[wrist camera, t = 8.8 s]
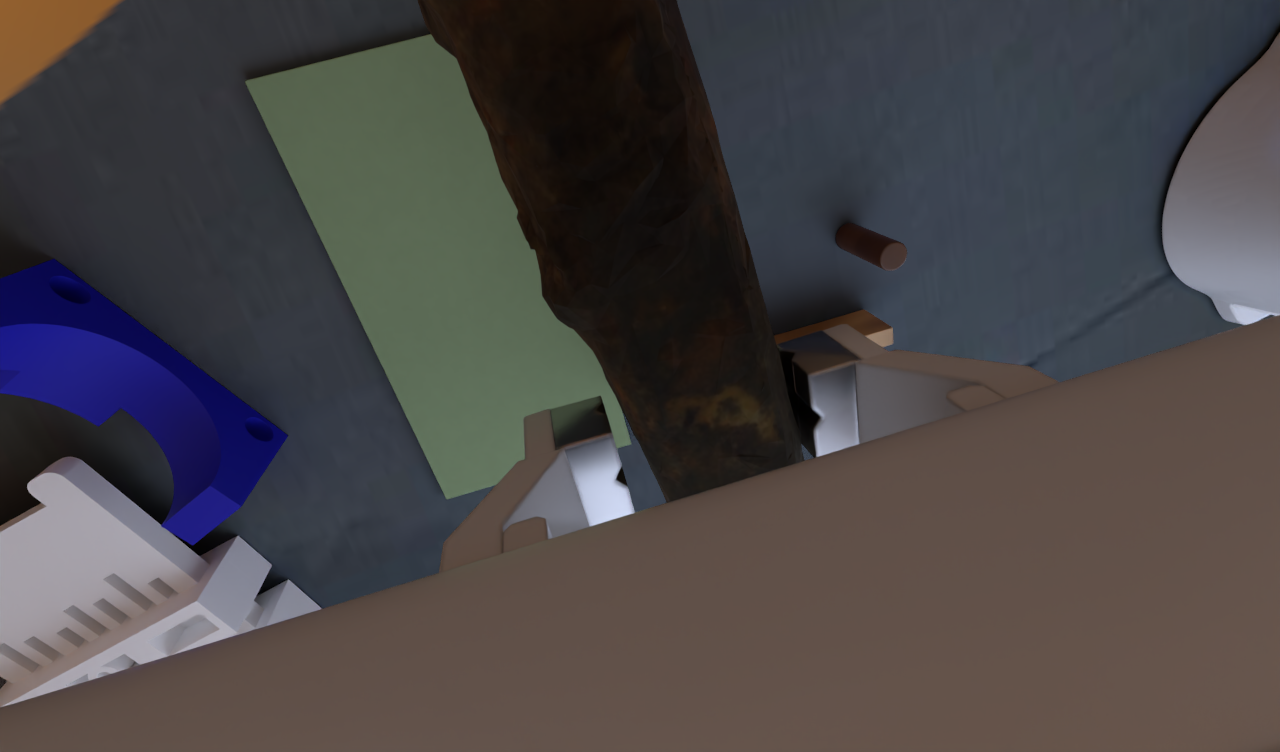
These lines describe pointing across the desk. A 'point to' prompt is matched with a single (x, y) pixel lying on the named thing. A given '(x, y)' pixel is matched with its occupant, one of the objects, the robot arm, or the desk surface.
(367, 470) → the desk surface
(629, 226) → the hand tool
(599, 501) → the robot arm
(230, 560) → the organizer
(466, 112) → the mat
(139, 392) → the cable clip
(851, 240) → the tool rack
